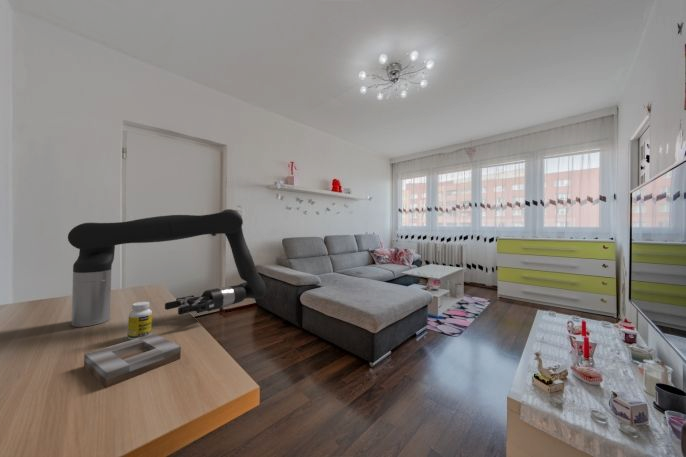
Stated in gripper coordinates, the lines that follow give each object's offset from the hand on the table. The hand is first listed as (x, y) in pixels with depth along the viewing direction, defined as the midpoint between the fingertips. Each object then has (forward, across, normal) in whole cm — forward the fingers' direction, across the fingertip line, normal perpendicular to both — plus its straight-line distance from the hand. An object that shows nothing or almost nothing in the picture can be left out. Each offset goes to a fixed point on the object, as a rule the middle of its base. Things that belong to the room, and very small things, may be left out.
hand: (171, 308), depth 83 cm
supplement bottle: (+8, 0, +6) cm, 11 cm away
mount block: (+15, +16, +6) cm, 23 cm away
